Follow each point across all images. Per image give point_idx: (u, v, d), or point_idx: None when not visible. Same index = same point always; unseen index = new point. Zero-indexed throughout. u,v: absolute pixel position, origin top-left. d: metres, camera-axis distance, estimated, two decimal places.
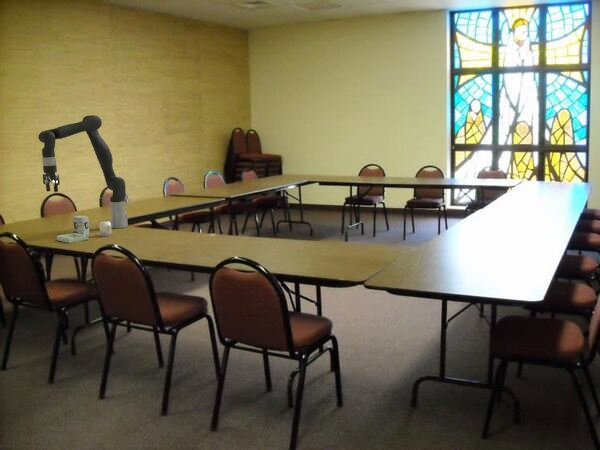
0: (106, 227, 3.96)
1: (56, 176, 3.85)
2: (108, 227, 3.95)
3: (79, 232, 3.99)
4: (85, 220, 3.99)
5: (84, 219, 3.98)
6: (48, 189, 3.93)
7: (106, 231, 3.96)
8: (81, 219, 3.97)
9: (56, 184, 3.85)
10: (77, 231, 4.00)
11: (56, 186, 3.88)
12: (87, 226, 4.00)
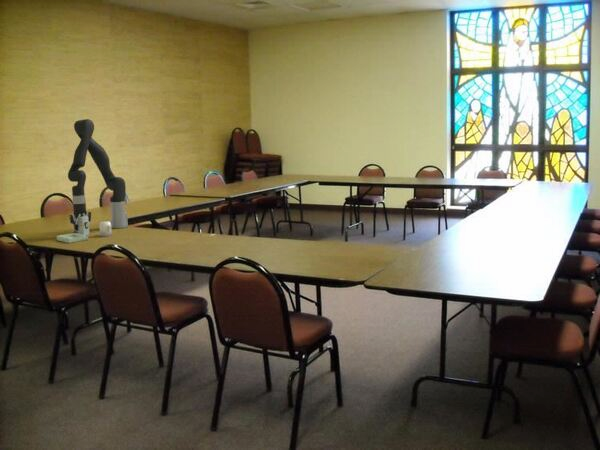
0: (106, 227, 3.96)
1: None
2: (108, 227, 3.95)
3: (79, 232, 3.99)
4: (85, 220, 3.99)
5: (84, 219, 3.98)
6: None
7: (106, 231, 3.96)
8: (81, 219, 3.97)
9: (90, 220, 4.04)
10: (77, 231, 4.00)
11: None
12: (87, 226, 4.00)
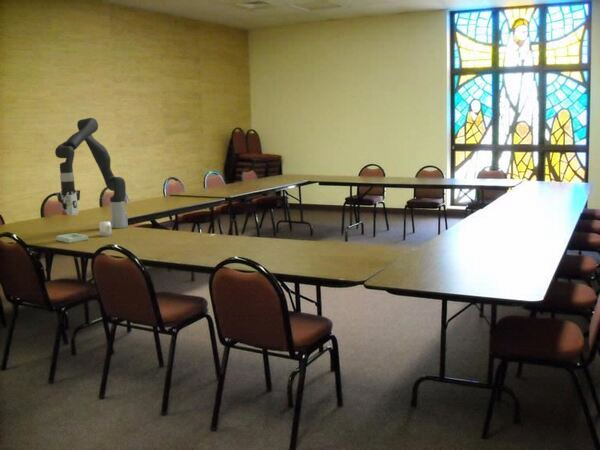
0: (106, 227, 3.96)
1: None
2: (108, 227, 3.95)
3: (67, 211, 3.81)
4: (74, 199, 3.80)
5: (72, 197, 3.79)
6: None
7: (106, 231, 3.96)
8: (69, 197, 3.79)
9: (79, 199, 3.86)
10: (65, 210, 3.82)
11: None
12: (76, 205, 3.82)
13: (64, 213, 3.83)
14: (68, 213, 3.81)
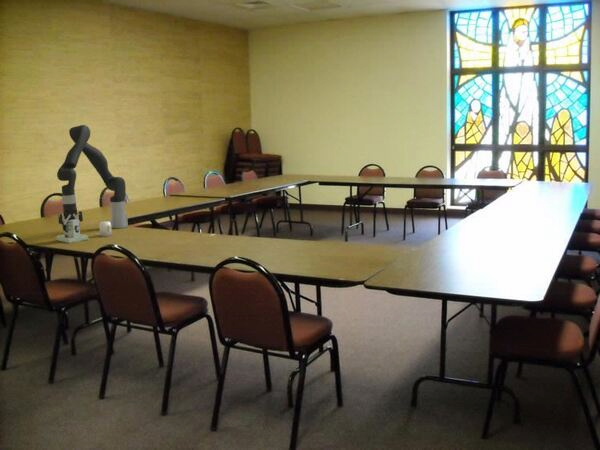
0: (106, 227, 3.96)
1: None
2: (108, 227, 3.95)
3: (69, 236, 3.84)
4: (76, 223, 3.83)
5: (74, 222, 3.82)
6: None
7: (106, 231, 3.96)
8: (71, 222, 3.81)
9: (82, 220, 3.89)
10: (67, 235, 3.84)
11: None
12: (78, 230, 3.84)
13: (66, 237, 3.85)
14: None
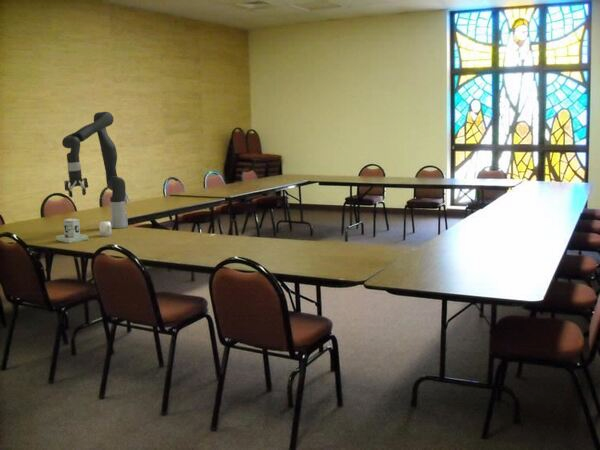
0: (106, 227, 3.96)
1: None
2: (108, 227, 3.95)
3: (69, 236, 3.84)
4: (76, 223, 3.83)
5: (74, 222, 3.82)
6: None
7: (106, 231, 3.96)
8: (71, 222, 3.81)
9: (87, 186, 4.00)
10: (67, 235, 3.84)
11: None
12: (78, 230, 3.84)
13: (66, 237, 3.85)
14: None
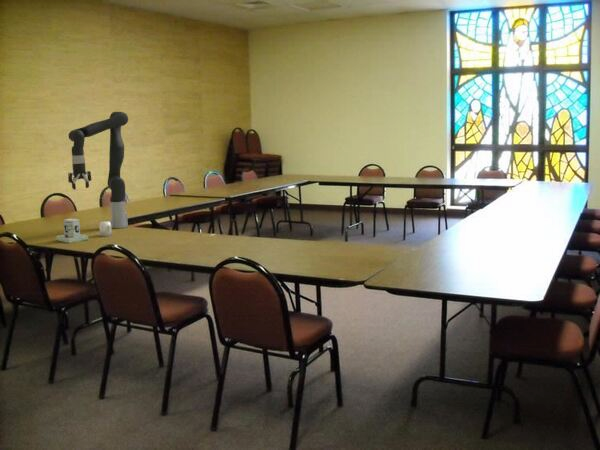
0: (106, 227, 3.96)
1: None
2: (108, 227, 3.95)
3: (69, 236, 3.84)
4: (76, 223, 3.83)
5: (74, 222, 3.82)
6: None
7: (106, 231, 3.96)
8: (71, 222, 3.81)
9: None
10: (67, 235, 3.84)
11: None
12: (78, 230, 3.84)
13: (66, 237, 3.85)
14: None
